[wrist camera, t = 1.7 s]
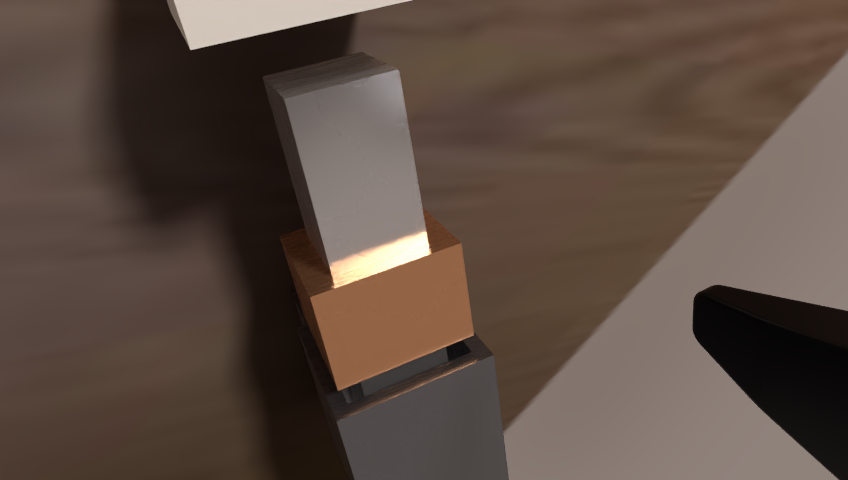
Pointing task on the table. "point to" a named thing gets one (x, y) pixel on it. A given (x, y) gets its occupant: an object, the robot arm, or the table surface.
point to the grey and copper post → (365, 227)
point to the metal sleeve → (417, 418)
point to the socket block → (255, 16)
